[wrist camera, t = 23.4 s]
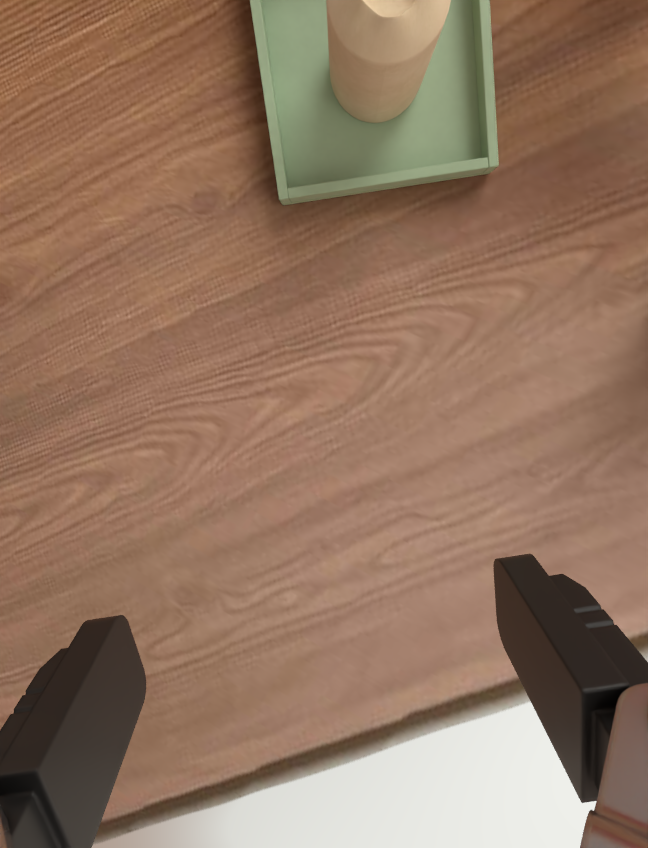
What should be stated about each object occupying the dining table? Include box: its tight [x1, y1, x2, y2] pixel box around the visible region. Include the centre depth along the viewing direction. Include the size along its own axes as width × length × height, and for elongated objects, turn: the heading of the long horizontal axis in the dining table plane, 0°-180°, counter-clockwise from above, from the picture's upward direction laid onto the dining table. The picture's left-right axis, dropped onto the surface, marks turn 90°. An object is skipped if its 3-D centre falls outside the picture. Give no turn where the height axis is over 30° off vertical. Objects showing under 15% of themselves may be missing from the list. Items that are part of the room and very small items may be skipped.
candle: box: [326, 0, 451, 123], centre depth 26 cm, size 6×6×10 cm
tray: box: [250, 0, 499, 205], centre depth 31 cm, size 13×13×2 cm
